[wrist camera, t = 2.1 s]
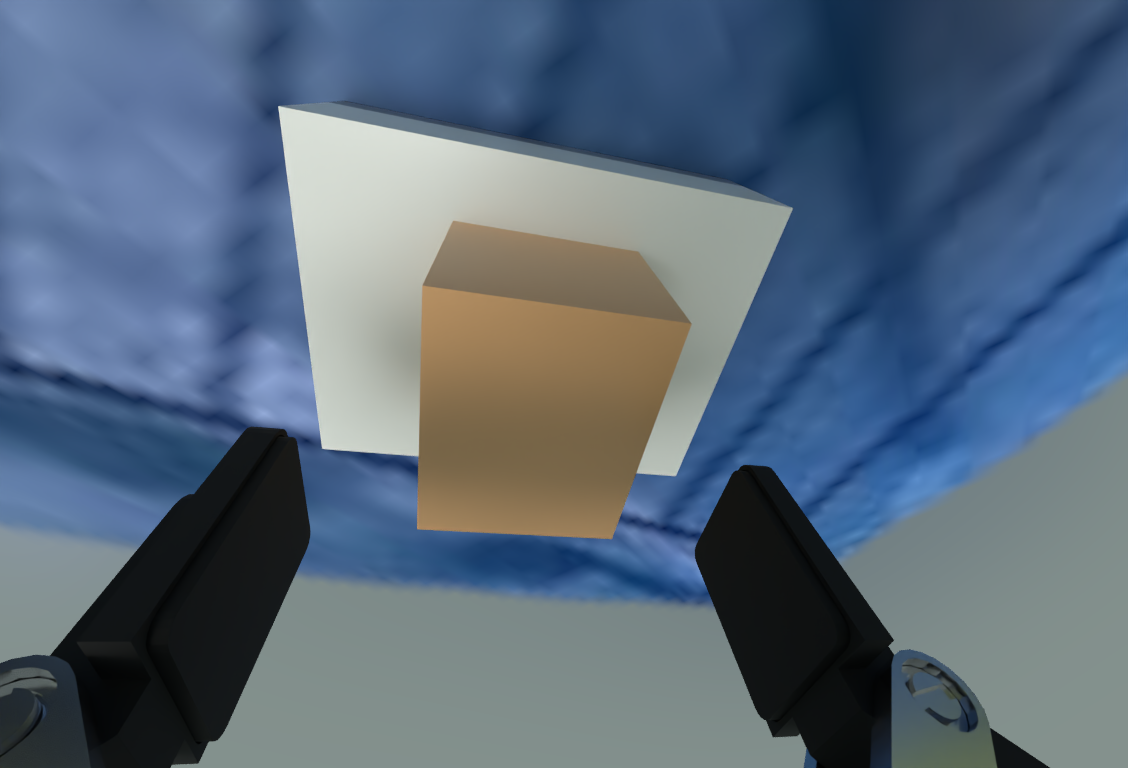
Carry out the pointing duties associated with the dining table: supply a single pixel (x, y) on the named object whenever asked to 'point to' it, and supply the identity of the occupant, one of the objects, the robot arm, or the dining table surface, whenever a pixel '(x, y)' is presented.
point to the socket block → (507, 201)
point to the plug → (538, 382)
